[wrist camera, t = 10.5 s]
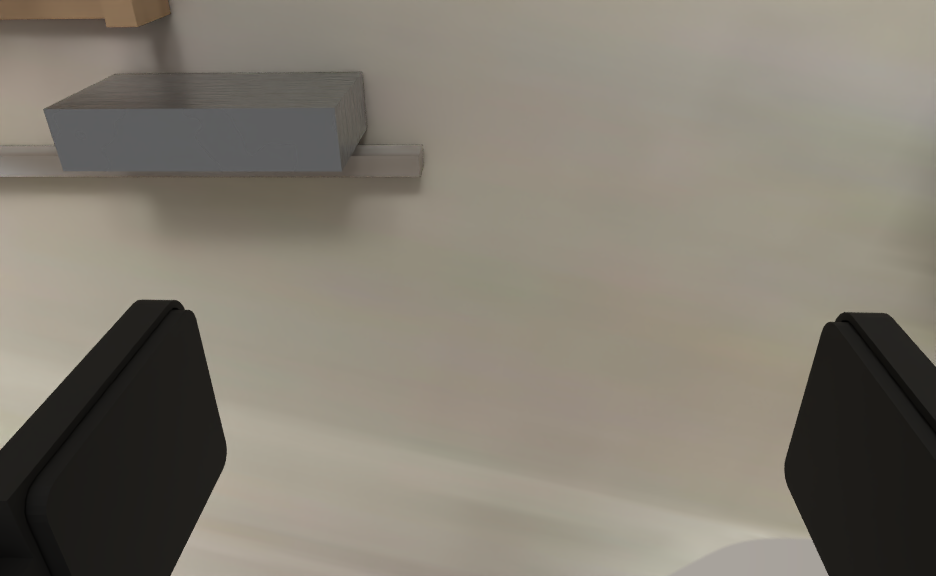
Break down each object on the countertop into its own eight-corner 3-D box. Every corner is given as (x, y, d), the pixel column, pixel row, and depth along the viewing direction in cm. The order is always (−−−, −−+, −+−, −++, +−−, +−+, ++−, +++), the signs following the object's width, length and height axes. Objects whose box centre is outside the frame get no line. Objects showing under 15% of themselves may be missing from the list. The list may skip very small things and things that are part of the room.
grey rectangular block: (114, 73, 25) (42, 109, 21) (361, 71, 25) (334, 107, 21) (129, 128, 26) (63, 171, 22) (367, 127, 26) (341, 171, 22)
